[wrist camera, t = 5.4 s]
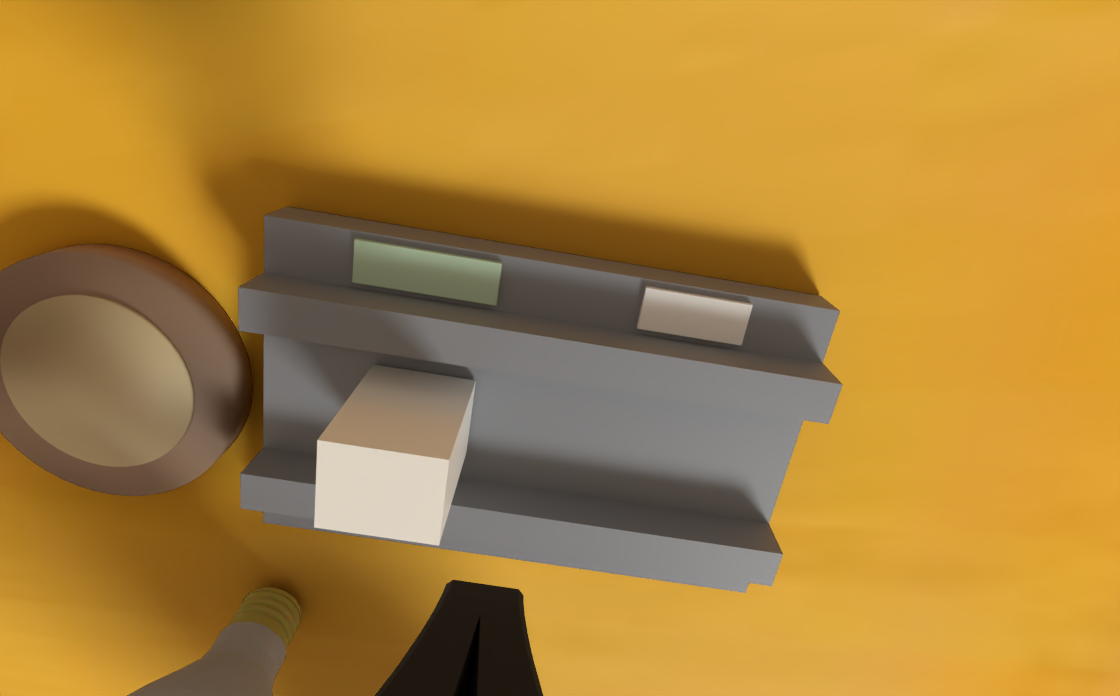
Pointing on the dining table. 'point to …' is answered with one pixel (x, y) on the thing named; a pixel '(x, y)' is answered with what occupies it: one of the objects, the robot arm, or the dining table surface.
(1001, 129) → the dining table surface
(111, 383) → the lamp base
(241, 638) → the light bulb
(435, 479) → the switch tab
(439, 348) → the switch board
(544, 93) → the dining table surface
